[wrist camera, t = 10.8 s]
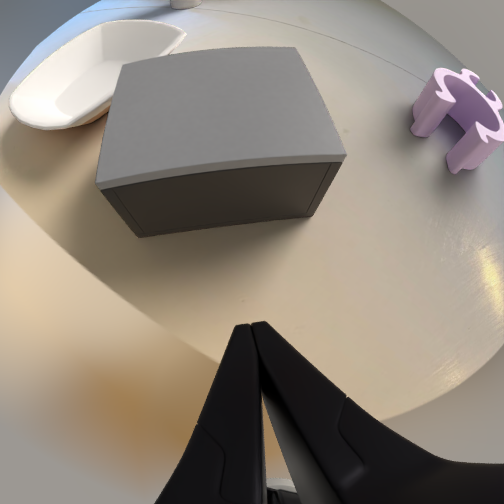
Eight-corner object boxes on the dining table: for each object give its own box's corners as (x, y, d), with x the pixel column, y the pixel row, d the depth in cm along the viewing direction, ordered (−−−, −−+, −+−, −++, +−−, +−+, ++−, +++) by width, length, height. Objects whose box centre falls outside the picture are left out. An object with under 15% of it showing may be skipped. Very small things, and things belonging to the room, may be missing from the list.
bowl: (211, 61, 30) (209, 28, 25) (83, 178, 24) (59, 147, 19) (111, 40, 33) (104, 17, 28) (11, 126, 26) (-5, 104, 21)
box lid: (124, 71, 18) (122, 64, 18) (294, 54, 20) (295, 47, 19) (99, 190, 15) (94, 183, 14) (343, 162, 16) (347, 154, 15)
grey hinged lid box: (142, 133, 25) (122, 76, 18) (284, 117, 27) (296, 58, 20) (138, 238, 22) (100, 191, 15) (312, 216, 23) (343, 162, 16)
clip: (440, 84, 34) (456, 57, 27) (491, 134, 31) (512, 111, 25) (394, 117, 29) (418, 79, 22) (466, 189, 26) (499, 160, 20)
